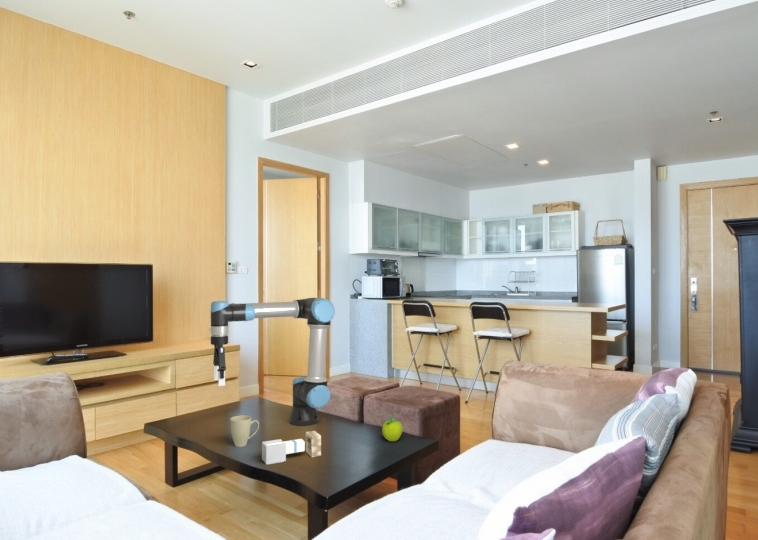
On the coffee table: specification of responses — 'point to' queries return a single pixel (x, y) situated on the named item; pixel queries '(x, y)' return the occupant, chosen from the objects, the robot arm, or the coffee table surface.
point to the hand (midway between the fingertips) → (219, 382)
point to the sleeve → (273, 452)
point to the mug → (241, 429)
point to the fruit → (392, 429)
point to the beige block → (313, 443)
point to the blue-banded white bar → (293, 445)
